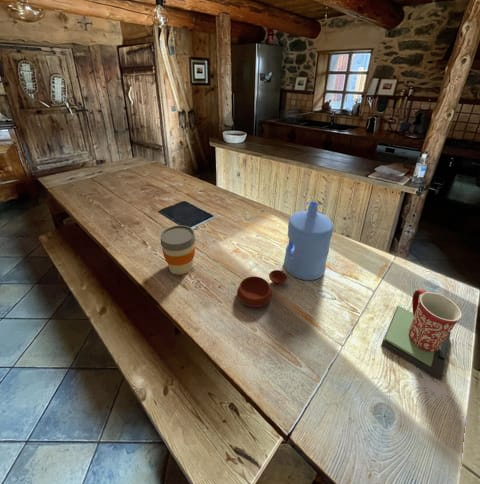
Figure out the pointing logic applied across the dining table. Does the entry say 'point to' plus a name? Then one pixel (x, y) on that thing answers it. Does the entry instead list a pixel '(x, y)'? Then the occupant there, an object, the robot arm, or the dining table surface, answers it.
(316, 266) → the water jug
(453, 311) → the mug
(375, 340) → the dining table surface
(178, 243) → the reusable coffee cup
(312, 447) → the dining table surface
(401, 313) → the scale
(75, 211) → the dining table surface
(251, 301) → the pottery
